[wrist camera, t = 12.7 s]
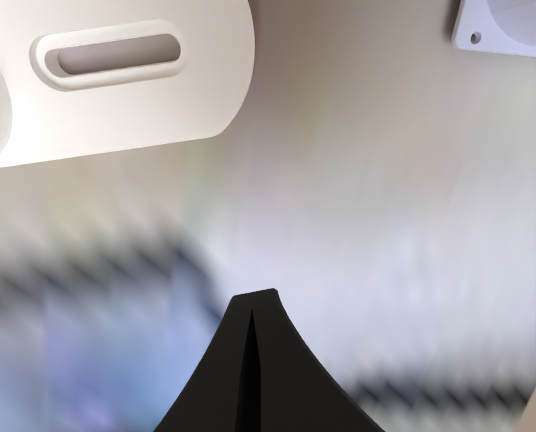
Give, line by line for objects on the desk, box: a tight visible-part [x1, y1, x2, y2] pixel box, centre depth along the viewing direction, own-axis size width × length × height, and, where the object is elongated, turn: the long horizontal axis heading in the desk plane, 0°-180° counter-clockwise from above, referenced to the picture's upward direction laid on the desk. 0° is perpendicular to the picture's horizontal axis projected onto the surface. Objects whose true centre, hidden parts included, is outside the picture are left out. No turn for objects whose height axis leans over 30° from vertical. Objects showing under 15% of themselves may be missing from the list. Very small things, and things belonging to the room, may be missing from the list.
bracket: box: [0, 0, 255, 167], centre depth 13 cm, size 20×9×7 cm, turn 97°
